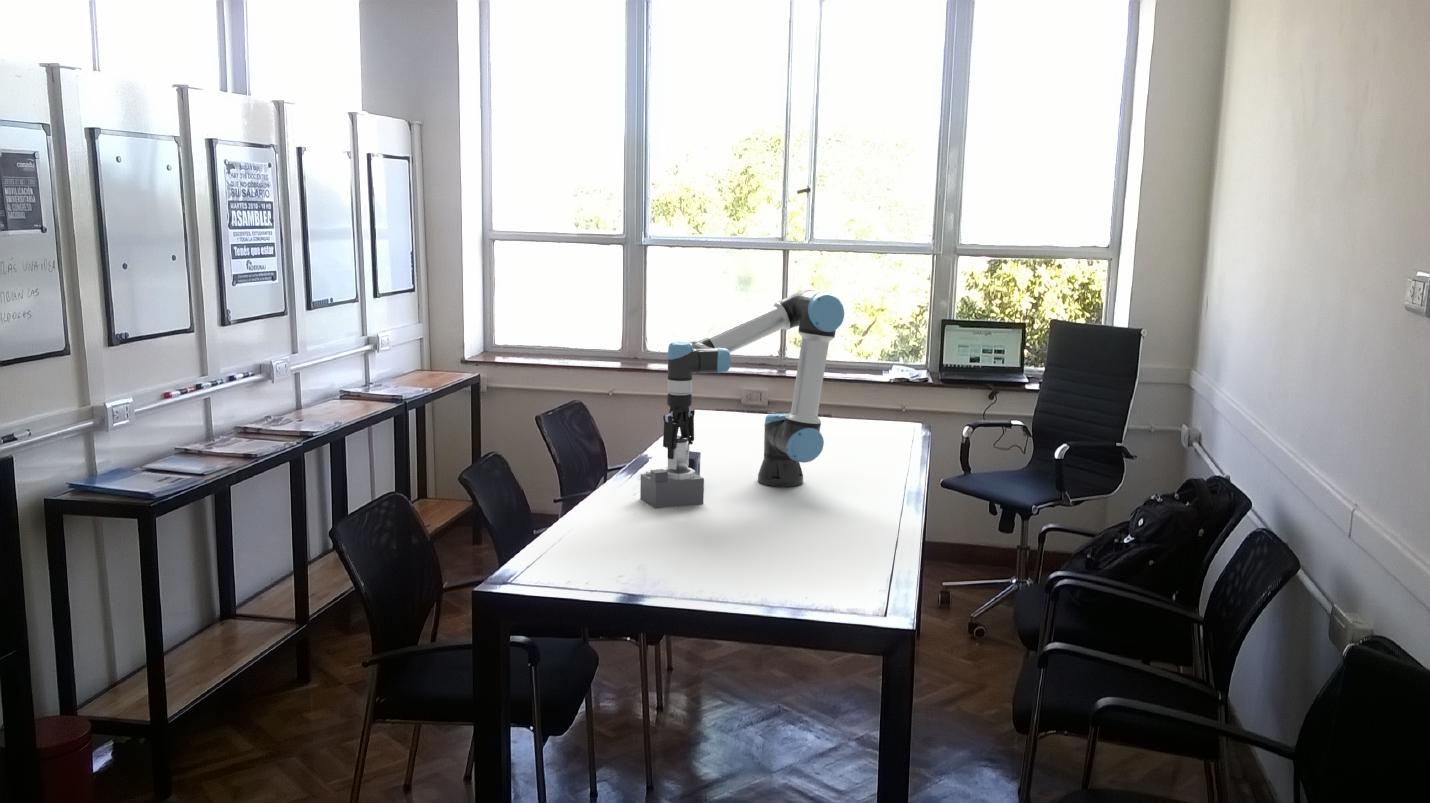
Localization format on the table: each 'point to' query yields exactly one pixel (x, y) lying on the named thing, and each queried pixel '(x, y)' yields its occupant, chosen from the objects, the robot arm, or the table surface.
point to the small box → (694, 461)
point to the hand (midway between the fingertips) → (678, 466)
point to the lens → (681, 454)
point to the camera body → (671, 488)
